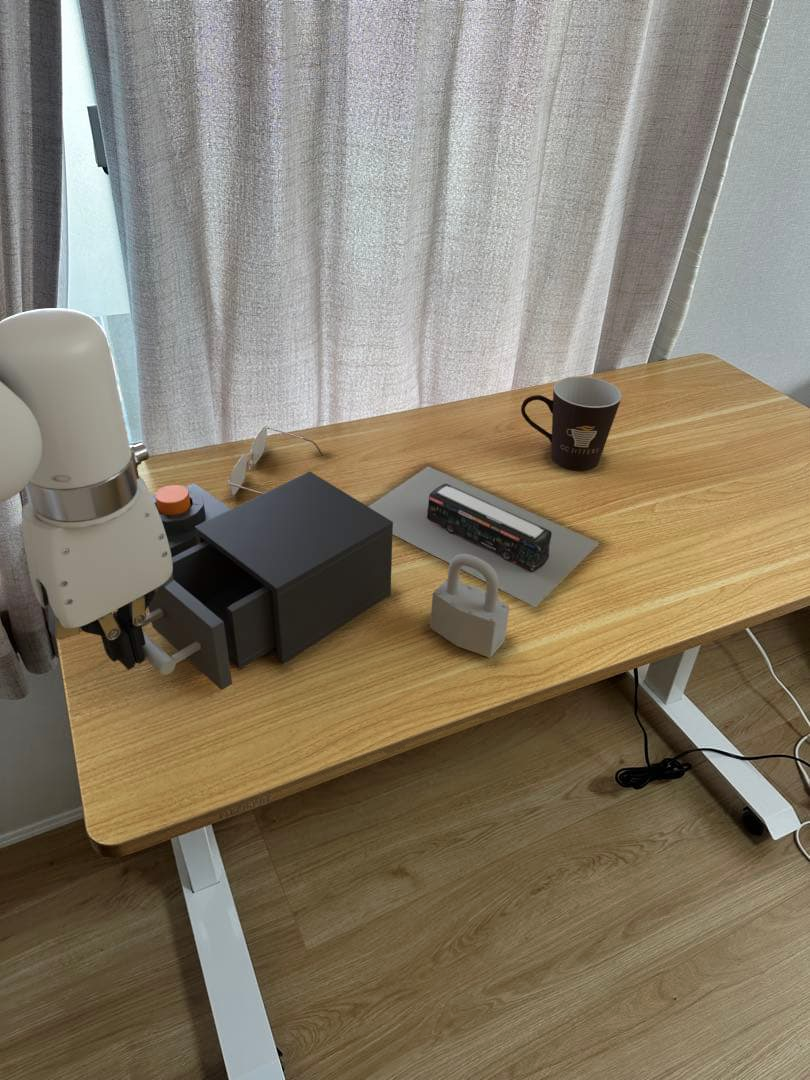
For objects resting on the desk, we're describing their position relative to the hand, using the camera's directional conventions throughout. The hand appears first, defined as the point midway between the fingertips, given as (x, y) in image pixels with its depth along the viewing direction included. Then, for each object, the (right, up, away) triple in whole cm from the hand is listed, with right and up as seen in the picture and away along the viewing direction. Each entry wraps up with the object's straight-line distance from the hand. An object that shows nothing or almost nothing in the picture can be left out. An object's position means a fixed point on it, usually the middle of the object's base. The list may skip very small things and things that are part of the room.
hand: (128, 656), depth 70 cm
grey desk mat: (+33, +11, +25) cm, 43 cm away
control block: (-2, +11, +22) cm, 25 cm away
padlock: (+30, 0, +11) cm, 32 cm away
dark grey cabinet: (+13, +4, +14) cm, 20 cm away
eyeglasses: (+8, +18, +32) cm, 38 cm away
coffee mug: (+46, +22, +39) cm, 64 cm away
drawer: (+7, +1, +8) cm, 11 cm away
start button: (-2, +14, +20) cm, 24 cm away
